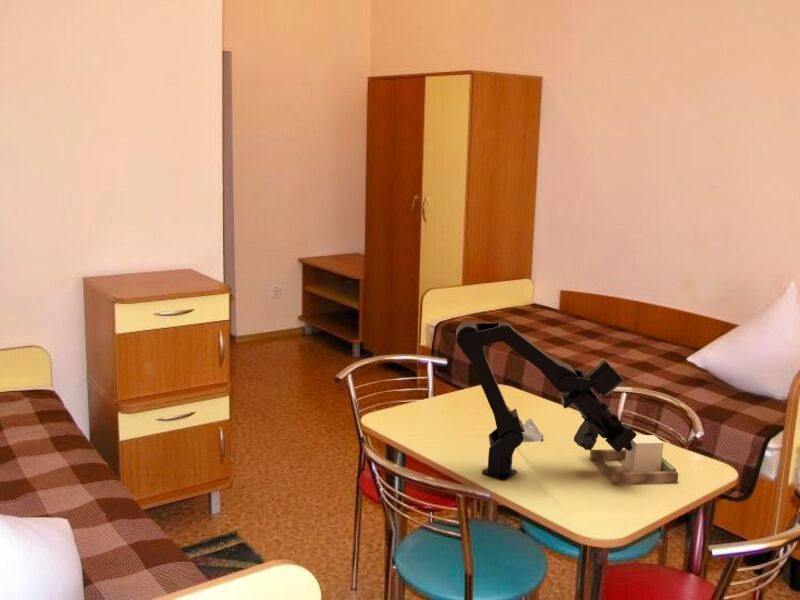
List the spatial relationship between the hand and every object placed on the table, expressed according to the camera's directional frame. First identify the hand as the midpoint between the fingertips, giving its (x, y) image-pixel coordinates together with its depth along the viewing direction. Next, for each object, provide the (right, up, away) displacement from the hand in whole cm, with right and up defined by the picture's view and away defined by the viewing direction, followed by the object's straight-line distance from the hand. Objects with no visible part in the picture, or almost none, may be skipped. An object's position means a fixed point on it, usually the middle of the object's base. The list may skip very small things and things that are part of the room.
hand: (630, 449), depth 191 cm
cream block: (+4, -5, +2) cm, 7 cm away
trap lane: (+1, -7, +2) cm, 7 cm away
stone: (-20, -2, +25) cm, 32 cm away
